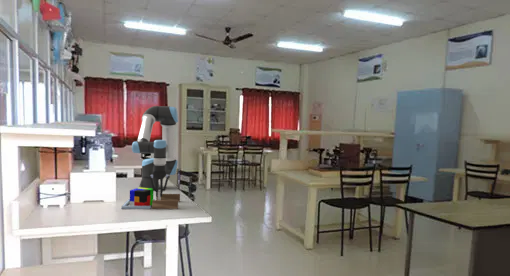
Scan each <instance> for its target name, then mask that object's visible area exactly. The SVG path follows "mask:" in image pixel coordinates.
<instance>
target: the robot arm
mask: <svg viewBox="0 0 510 276" xmlns="http://www.w3.org/2000/svg"><path fill="white" fill-rule="evenodd" d="M178 115H179V114H178V110H177V108H176V107H175V106H166V105H165V106H164V105H162V106H161V105H154V106H151V107H149V108H147V109H146V110H145V111H144V113H143V114H142V117H141V126H140V129H139V133H138V137H137V140H136V141H133V142H132V144H131V152H132V153H133V154H151V155H152V154H153V157H152V158H145V159H143V160H142V162H141V179H140V181H139V182H140V183H139V184H138V185H139V186H138V188H139V187H141V188H151V189H153V191H154V192H155V198H156V197H158V200H161V197H162V194H164V193H163V192H165V191H166V189H167V185H168V182H169V179H170V178H171V176H174V175H176V174H177V169H178V168H177V167H178V162H179V161H178V159H177V158H176V157H175V126H177V123H179V116H178ZM157 122H159V123H160V126H161V127H162V128H161V130H162V131H161V132H162V135H161V136H162V139H155V140H154V141H150V140H151V136H152V133H153V126H154V124H155V123H157ZM165 178H166V179H165ZM164 179H165V183H164ZM159 181H160V182H159ZM159 190H160V191H159Z"/></svg>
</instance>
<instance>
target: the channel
mask: <svg viewBox="0 0 510 276" xmlns="http://www.w3.org/2000/svg"><path fill="white" fill-rule="evenodd" d="M155 198H156V199H155V200H152V205H151V209H152V210H155V209H156V210H158V209H159V210H163V209H166V210H169V209H170V210H172V209H174V210H175V209H177V210H178V208H179V203H180V202H181V193H162V197H161V200H158V197H156V196H155Z"/></svg>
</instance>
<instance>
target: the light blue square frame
mask: <svg viewBox="0 0 510 276" xmlns="http://www.w3.org/2000/svg"><path fill="white" fill-rule="evenodd" d="M153 200H156V199H155V198H153ZM129 204H130V198H127V200H126V201H125V202H124V204H122V205H121V210H147V209H152V205H151V206H130V205H129Z"/></svg>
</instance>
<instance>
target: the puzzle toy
mask: <svg viewBox="0 0 510 276" xmlns="http://www.w3.org/2000/svg"><path fill="white" fill-rule="evenodd" d="M154 192H155V191H153V189H151V188H141V187H139V186H138V187H136V188H133V189H130V190H129V199H130V202H129V206H151V207H152V200H153V199H154Z"/></svg>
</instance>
